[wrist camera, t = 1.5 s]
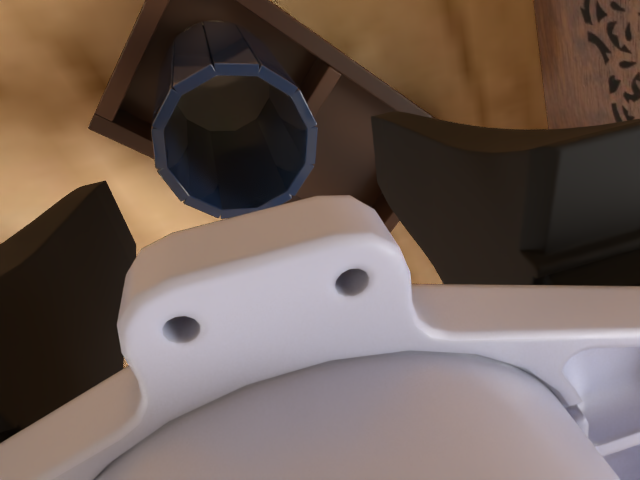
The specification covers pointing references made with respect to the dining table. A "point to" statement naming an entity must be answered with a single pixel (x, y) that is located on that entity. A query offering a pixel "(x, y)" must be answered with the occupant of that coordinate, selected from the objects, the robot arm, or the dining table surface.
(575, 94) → the tissue box cover
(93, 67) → the dining table surface
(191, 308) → the robot arm
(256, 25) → the cup holder
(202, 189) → the cup
